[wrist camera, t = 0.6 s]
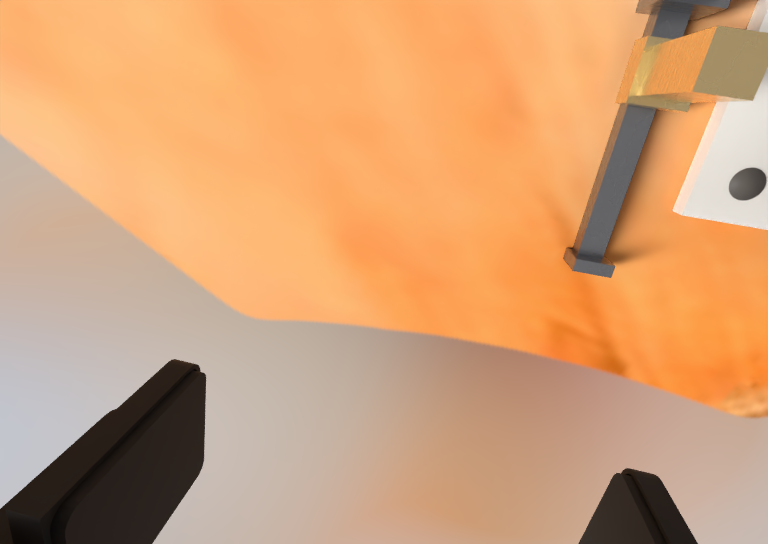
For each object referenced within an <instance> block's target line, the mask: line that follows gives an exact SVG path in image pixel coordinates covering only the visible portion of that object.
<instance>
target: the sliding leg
mask: <svg viewBox="0 0 768 544" xmlns="http://www.w3.org/2000/svg"><path fill="white" fill-rule="evenodd" d="M767 67H768V33H766V32H759V31H752V30H744V29H737V28H730V27H723V26H715V27H712V28H709V29H705V30H702V31H699V32H696V33H693V34H689V35H686V36H683V37H680V38H676V39H668V38H661V37H654V36H646V37H644V38H641V39H638V40H636V41H635V44H634V47H633V50H632V53H631V56H630V59H629V62H628V65H627V68H626V71H625V74H624V77H623V80H622V84H621V87H620V90H619V93H618V96H617V99H616V102H615V103H618V104H625V105H631V106H638V107H644V108H651V109H657V110H664V111H670V112H688V109H689V107H690V104H691V103H694V102H729V101H753V99H754V97H755V95H756V93H757V90H758V88H759V86H760V83H761V81H762V79H763V77H764V74H765V72H766V70H767Z"/></svg>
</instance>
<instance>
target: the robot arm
mask: <svg viewBox="0 0 768 544" xmlns="http://www.w3.org/2000/svg"><path fill="white" fill-rule="evenodd" d="M205 394H206V375H205V374H204V373H202V372H200V368H199V365H196V364H192V363H188V362H184V361H180V360H176V359H174V360H171V361H169V362H168V363H167V364H166V365H165V366H164V367H162V368H161V369H160V370H159V371H158V372H157V373H156V374H155V375H154V376H153V377H151V378H150V379H149V380H148V381H147V382H146V383H145V384H144V385H143V386H142V387H140V388H139V389H138V390H137V391H136V392H135V393H134V394H133V395H132V396H130V397H129V398H128V399H127V400H126V401H125V402H124V403H123V404H122V405H121V406H120V407H118V408H117V409H115V410H112V411H110V412H109V413H108V414H106V415H105V416H104V417H103V418H102V419H101V420H99V421H98V422H97V423H96V424H95V425H94V426H93V427H91V428H90V429H89V430H88V431H87V432H86V433H85V434H84V435H83V436H81V437H80V438H79V439H78V440H77V441H76V442H75V443H74V444H73V445H71V447H69V448H68V449H67V450H66V451H65V452H64V453H62V454H61V455H60V456H59V457H58V458H57V459H56V460H55V461H53V462H52V463H51V464H50V465H49V466H48V467H47V468H46V469H45V470H43V471H42V472H41V473H40V474H39V475H38V476H37V477H36V478H34V479H33V480H32V481H31V482H30V483H29V484H28V485H27V486H26V487H24V488H23V489H22V490H21V491H20V492H19V493H18V494H17V495H15V496H14V497H13V498H12V499H11V500H10V501H9V502H8V503H6V504H5V505H4V506H3V507H2V508H1V509H0V544H152V543H153V542H154V540H155V539H156V537H157V536H158V534H159V533H160V531H161V530H162V528H163V527H164V525H165V524H166V522H167V521H168V519H169V518H170V516H171V515H172V514H173V512H174V511H175V509H176V508H177V506H178V505H179V503H180V502H181V500H182V499H183V497H184V496H185V494H186V493H187V492H188V490H189V489H190V487H191V486H192V484H193V483H194V481H195V480H196V478H197V477H198V475H199V473H200V471H201V469H202V466H203V462H204V437H205V436H204V435H205V397H206V395H205ZM579 544H698V543H697V542H696V540H695V538H694V536H693V535H692V533H691V531H690V529H689V528H688V526H687V524H686V523H685V521H684V519H683V517H682V516H681V514H680V512H679V510H678V509H677V507H676V505H675V504H674V502H673V500H672V498H671V497H670V495H669V493H668V491H667V490H666V488H665V486H664V484H663V483H662V481H661V480H660V478H659V477H658V476H656V475H654V474H650V473H646V472H642V471H638V470H634V469H628V468H627V469H625V470H623V471H622V473H621V474H620V473H616V474H615V475H614V476H613V478H612V479H611V481H610V484H609V485H608V487H607V489H606V491H605V493H604V495H603V497H602V499H601V501H600V503H599V505H598V507H597V509H596V511H595V513H594V515H593V517H592V519H591V520H590V522H589V524H588V526H587V528H586V531H585V532H584V534H583V536H582V538H581V540H580V542H579Z"/></svg>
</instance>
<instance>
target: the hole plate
mask: <svg viewBox="0 0 768 544" xmlns="http://www.w3.org/2000/svg"><path fill="white" fill-rule="evenodd" d="M746 30H752V31H759V32H766V33H768V0H758V2H757V4H756V7H755V9H754V12H753V14H752V16H751V19H750V21H749V24H748V26H747V29H746ZM672 211H674V212H676V213H678V214H680V215H684V216H689V217H695V218H701V219H707V220H713V221H719V222H724V223H730V224H736V225H742V226H748V227H754V228H760V229H765V230H768V67H767V70H766V72H765V74H764V77H763V79H762V81H761V83H760V86H759V88H758V90H757V93H756V95H755V97H754V99H753V101H729V102H716V105H715V107H714V110H713V112H712V115H711V117H710V119H709V122H708V124H707V127H706V129H705V132H704V134H703V137H702V139H701V141H700V144H699V146H698V149H697V151H696V154H695V156H694V159H693V161H692V164H691V166H690V168H689V171H688V173H687V176H686V178H685V181H684V183H683V186H682V188H681V190H680V193H679V195H678V198H677V200H676V203H675V205H674V208H673V210H672Z"/></svg>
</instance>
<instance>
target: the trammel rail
mask: <svg viewBox="0 0 768 544" xmlns="http://www.w3.org/2000/svg"><path fill="white" fill-rule="evenodd" d="M730 1H731V0H639V3H638V6H637V9H636V13H643V14H650V16H649V19H648V22H647V25H646V28H645V31H644V34H643V37H642V38H644V37H646V36H654V37H661V38H668V39H676V38H680V37H683V35H684V32H685V29H686V26H687V23H688V21H689V20H697V19H700V18H703V17H706V16H708V15H711V14H714V13H717V12H719V11H722V10H725V9H728V6H729V4H730ZM655 112H656V109H651V108H644V107H638V106H631V105H625V104H620V107H619V110H618V113H617V116H616V119H615V122H614V125H613V128H612V131H611V134H610V137H609V140H608V143H607V146H606V149H605V152H604V155H603V158H602V161H601V165H600V168H599V171H598V174H597V177H596V180H595V183H594V186H593V189H592V192H591V195H590V198H589V201H588V204H587V207H586V210H585V213H584V216H583V219H582V222H581V225H580V228H579V231H578V234H577V237H576V240H575V243H574V246H573V249H571V248H566V251H565V255H564V258H563V259H564V260H565V262H566V263H567V264H568V265H569V267H570V268H571V269H572V271H577V272H582V273H588V274H593V275H598V276H604V277H609V278H611V277H612V274H613V271H614V269H615V265H614V264H613V263H612V262H610V261H609V260H608V259H607V258H606V257H605V256H604V253H605V250H606V248H607V245H608V242H609V239H610V237H611V234H612V231H613V228H614V226H615V223H616V220H617V217H618V214H619V212H620V209H621V206H622V203H623V201H624V198H625V195H626V192H627V190H628V187H629V184H630V181H631V178H632V176H633V173H634V170H635V167H636V165H637V162H638V159H639V156H640V154H641V151H642V148H643V145H644V142H645V140H646V137H647V134H648V131H649V129H650V126H651V123H652V120H653V118H654V115H655Z"/></svg>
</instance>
